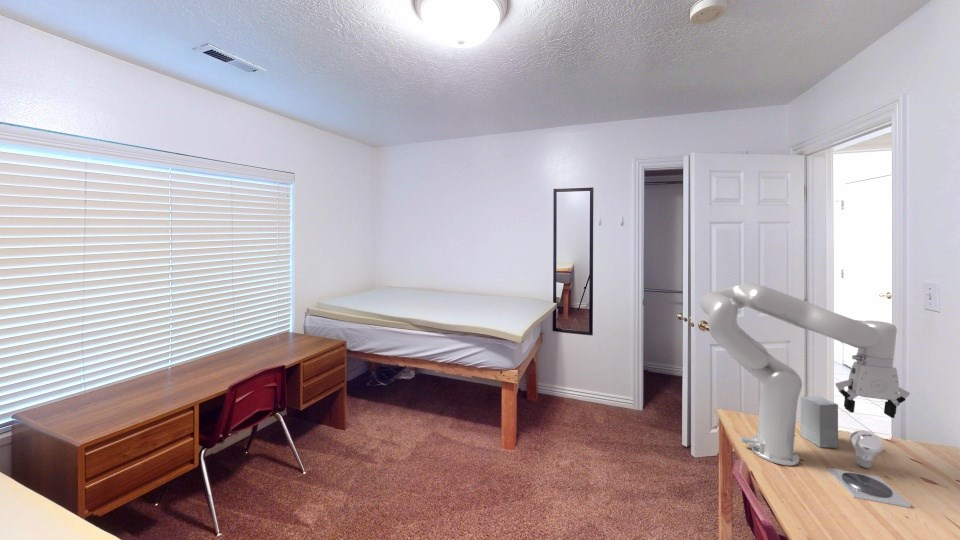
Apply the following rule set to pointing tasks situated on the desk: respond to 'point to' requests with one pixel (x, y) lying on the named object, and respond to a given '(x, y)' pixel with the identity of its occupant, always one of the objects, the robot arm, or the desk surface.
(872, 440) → the light bulb
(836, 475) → the duct plate
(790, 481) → the desk surface
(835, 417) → the skincare box
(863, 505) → the desk surface
